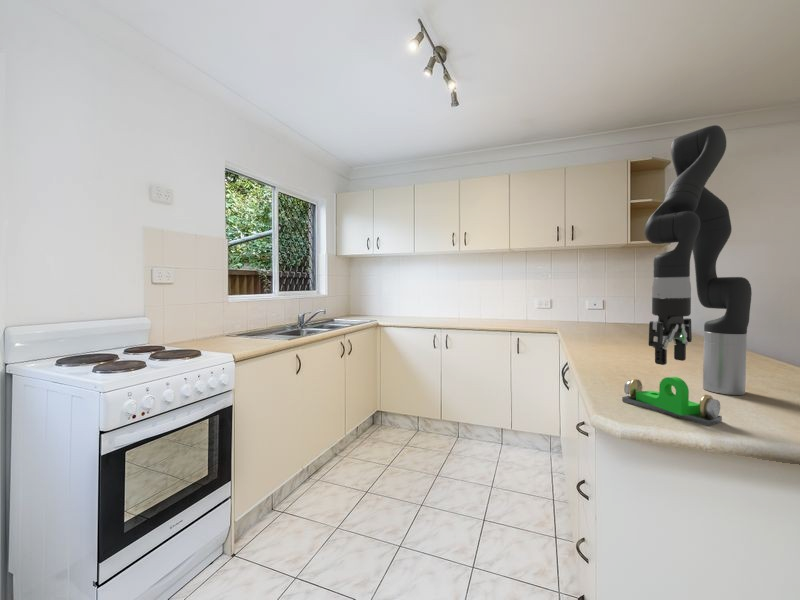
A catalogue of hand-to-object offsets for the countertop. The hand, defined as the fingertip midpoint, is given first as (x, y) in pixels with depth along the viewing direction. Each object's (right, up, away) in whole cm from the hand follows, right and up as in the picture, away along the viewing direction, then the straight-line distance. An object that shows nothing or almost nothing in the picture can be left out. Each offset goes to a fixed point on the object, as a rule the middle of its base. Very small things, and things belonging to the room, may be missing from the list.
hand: (670, 362), depth 87 cm
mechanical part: (0, -11, +1) cm, 11 cm away
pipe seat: (0, -12, +1) cm, 12 cm away
